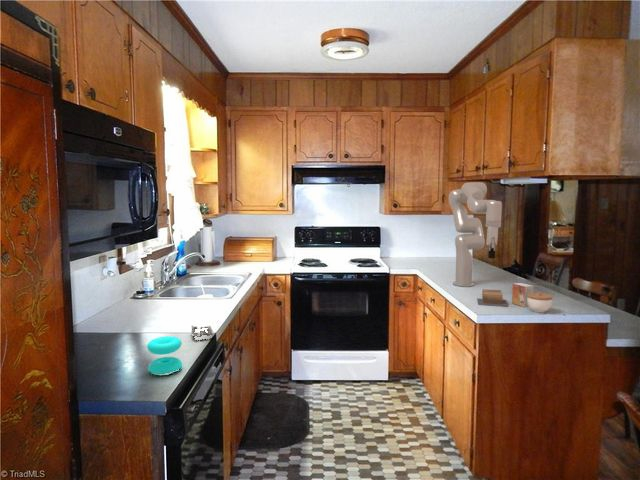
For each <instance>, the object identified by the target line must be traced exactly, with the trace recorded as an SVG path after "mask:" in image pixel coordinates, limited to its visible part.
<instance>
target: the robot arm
mask: <svg viewBox="0 0 640 480" xmlns="http://www.w3.org/2000/svg"><path fill="white" fill-rule="evenodd" d="M460 187H461V188H459V189H454V190H451V191H450V192H449V194H448V203H449V207H450V209H451V211H452V212H451V213H452V215H453V221H454V222H453V223H454V227H455V231H456V232H457V233H460V234H457V236H455V239H454V245H455V254H456V255H455V281H453V282H452V285H453V286H457V287H474V286H475V283H474V282H473V280H472V279H473V255H472V253H471V252H470V250H482V249H484V247H485V243H486V245H487V246H488V252H487V253H488V254H487V255H488V256H487V257H488V259H495V258H496V246H497V245H498V239H499V228H501V226H502V211H503V209H502V208H503V204H502V201H499V200H495V199H484V197H485V196H486V194H487V192H488V187H487V185H486V183H484V182H480V181H478V182H477V181H474V182H472V181H470V182H464V183H463V185H462V186H460ZM463 204H466V205H467V208H468V209H469V211H470V212H471V213H473V214H477V215H478V214H479V215H480V214H481V215H482V214H483V215H484V214H485V227H486V228H487V230H486V240H485V235H484V228H483V224H482V221H481V219H480V218H479V217H469V214H468V210H467V208H466V207H465V206H464V205H463Z"/></svg>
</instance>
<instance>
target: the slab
mask: <svg viewBox="0 0 640 480" xmlns="http://www.w3.org/2000/svg"><path fill="white" fill-rule="evenodd" d="M481 293H482V296H481V297H482V298H481V299H483V303H496V304H502V301H503V300H504V298H503V297H504V296H503V295H504V294H503V292H502V290H501V289H487V288H486V289H485V288H482V291H481Z"/></svg>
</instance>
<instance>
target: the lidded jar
mask: <svg viewBox="0 0 640 480" xmlns="http://www.w3.org/2000/svg"><path fill="white" fill-rule="evenodd" d="M527 303H528V306H529V307H528V308H529V309H530V310H531V312H533V313H537V314H544V313H547V312H548V311H549V310H550V309H551V307H552V304H553V295H551V294H549V293H542V292H541V291H538V292H533V293H529V294H527Z"/></svg>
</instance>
